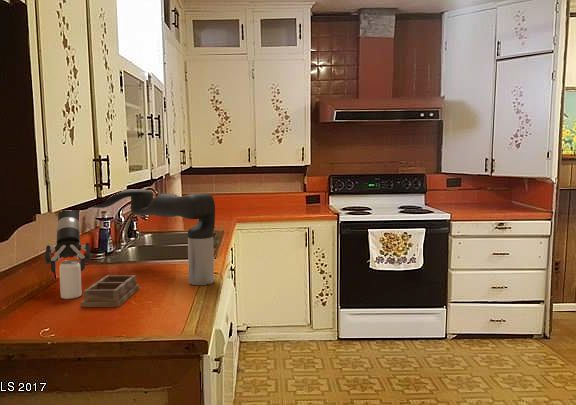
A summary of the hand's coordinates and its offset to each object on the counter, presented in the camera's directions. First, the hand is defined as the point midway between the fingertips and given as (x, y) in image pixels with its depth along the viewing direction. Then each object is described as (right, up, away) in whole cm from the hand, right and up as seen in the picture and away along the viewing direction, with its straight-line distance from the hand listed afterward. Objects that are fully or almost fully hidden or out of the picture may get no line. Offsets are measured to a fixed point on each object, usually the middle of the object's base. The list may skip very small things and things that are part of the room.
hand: (68, 271), depth 164 cm
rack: (+16, -8, -2) cm, 18 cm away
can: (+2, -9, -2) cm, 9 cm away
